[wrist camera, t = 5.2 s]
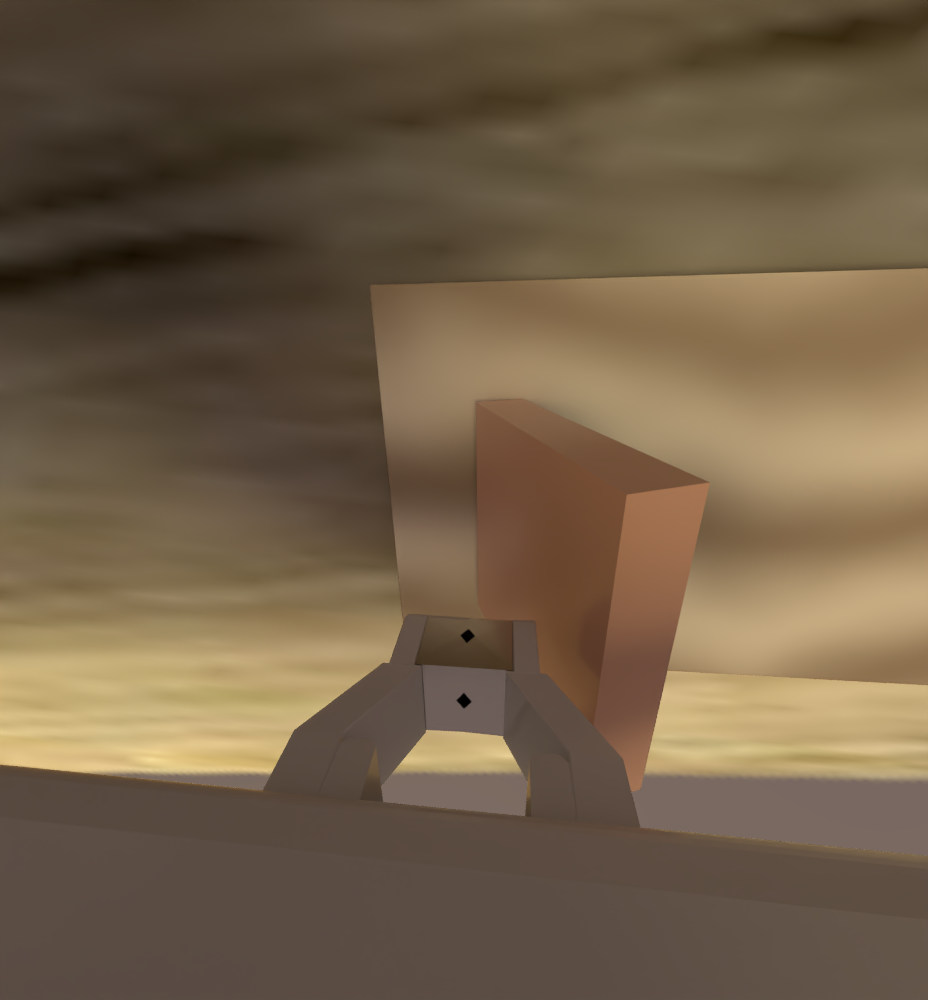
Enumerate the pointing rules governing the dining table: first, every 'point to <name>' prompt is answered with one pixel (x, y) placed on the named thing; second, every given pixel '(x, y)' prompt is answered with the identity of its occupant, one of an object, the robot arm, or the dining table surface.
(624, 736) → the tile
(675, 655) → the board
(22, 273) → the dining table surface
